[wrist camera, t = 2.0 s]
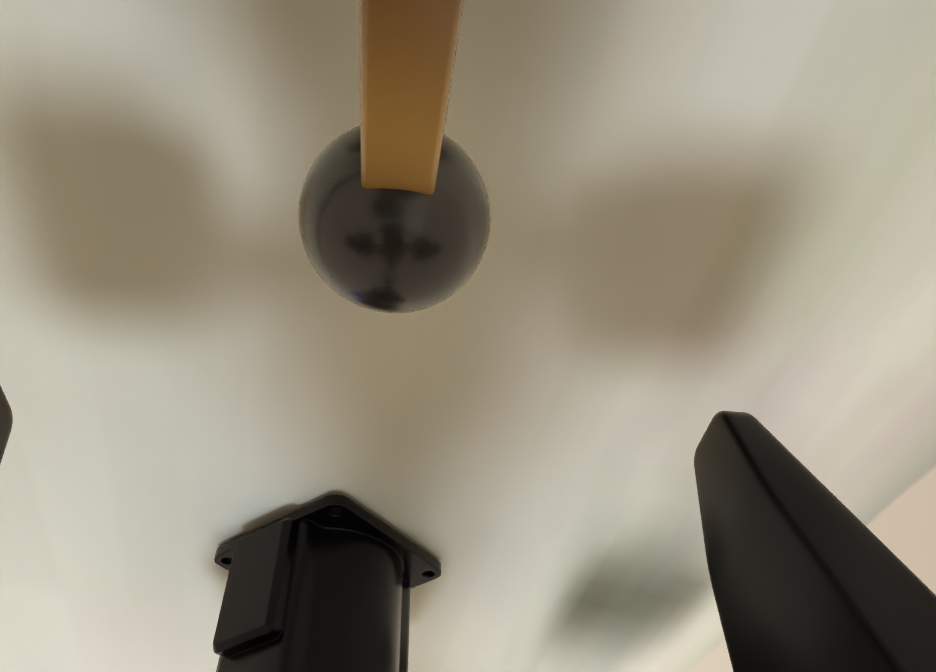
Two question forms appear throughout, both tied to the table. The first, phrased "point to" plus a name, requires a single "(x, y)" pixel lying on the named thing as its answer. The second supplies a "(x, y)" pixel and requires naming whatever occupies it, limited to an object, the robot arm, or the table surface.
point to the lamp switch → (398, 171)
